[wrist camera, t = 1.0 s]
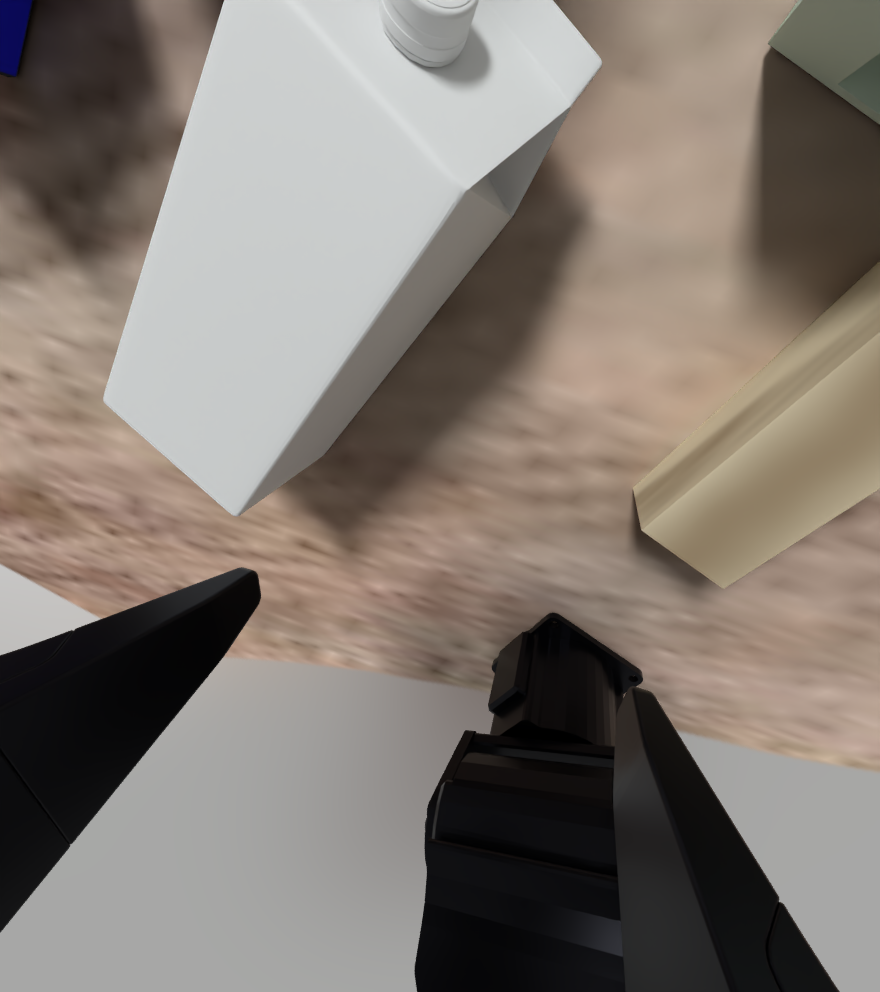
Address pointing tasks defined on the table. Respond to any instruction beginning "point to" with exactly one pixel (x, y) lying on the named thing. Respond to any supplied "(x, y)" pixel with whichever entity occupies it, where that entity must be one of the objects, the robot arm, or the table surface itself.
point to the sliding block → (837, 47)
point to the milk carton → (328, 216)
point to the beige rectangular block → (777, 449)
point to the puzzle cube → (13, 34)
